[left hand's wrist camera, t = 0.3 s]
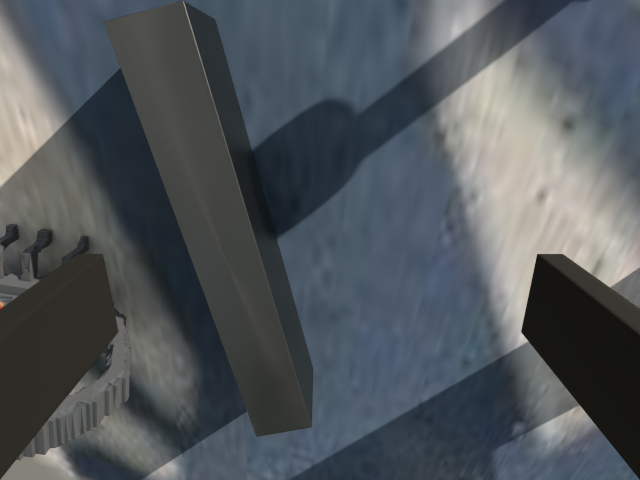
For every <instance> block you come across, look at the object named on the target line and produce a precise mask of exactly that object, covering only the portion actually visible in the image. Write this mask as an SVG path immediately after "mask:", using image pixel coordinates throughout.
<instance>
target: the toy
mask: <svg viewBox="0 0 640 480" xmlns="http://www.w3.org/2000/svg"><path fill="white" fill-rule="evenodd" d="M17 239H18V232H17V225H13V224H10V225H8V226H6V234H5V236H4V237H2V238H0V309H1V308H2V307H4V306H5V305H6V304H8V303H9V302H11V301H12V300H13V299H15V298H16V297H18V296H19V295H21V294H22V293H23V292H25V291H26V290H28V289H29V288H30V287H32V286H33V285H35V284H36V283H37V282H39V281H40V280H42V279H43V278H40V277H37V276H36V275H37V259H38V253H39V252H41V249H43V248H45V247H47V246H48V245H49V244H50V243H51V242H52V239H51V231H49V230H43V229H41V230H40V231H38V234H37V241H36V242H35V243H34V244H33V245H32V246H31V247H29V248H27V249H26V250H25V251H24V252H23V253H22V254H21V265H22V274H21V273H15V272H12V273H11V274H9V275H4V269H3V267H4V249H5V248H6V247H7V246H8V245H9V244H11V243H12V242H14V241H16V240H17ZM87 251H88V237H85V236H82V237H81V239H80V241H79V243H78V246H77V248H76V249H74V250H73V251H72V252H70V253H69V254H68V255H66V256H64V257H63V258H62V265H63V264H64V263H66V262H67V261H68V260H70V259H71V258H73V257H74V256H75V255H77V254H84V253H86V252H87ZM113 307H114V303H113ZM114 312H115V316H116V321H117V326H118V331H119V332H118V334H117V335H116V336H115V337H114V339H113V340H112V341H111V342H110V343H109V345H108V346H107V347H106V348H105V350H104V351H103V352H102V353H106V371H105V372H104V374H103V375H102V376H101V377H100V379H99V380H94V381H93V382H92V383H91V385H89V386H88V387H83V388H82V389H81V390H80V391H79V392H78V393H75V394H74V395H70V396H67V397H66V398H65V399H64V401H63V402H62V403H61V404H60V406H59V407H58V408H57V409H56V411H55V412H54V413H53V414H52V416H51V417H50V418H49V419H48V421H47V422H46V423H45V424H44V426H43V427H42V428H41V429H40V431H39V432H38V433H37V434H36V436H35V437H34V438H33V439H32V441H31V442H30V443H29V444H28V446H27V447H26V448H25V449H24V450H23V452H22V453H21V454H20V455H19V457H18V458H17V459H16V460H21V459H22V457H23V456H25V457H34V455H35V454H42V455H45V454H46V453H47V451H48V450H49V449H50V448H56V447H59V446H61V445H63V444H64V443H67V442H69V441H70V440H71V439H76V438H77V437H78V436H79V435H80V434H83V433H85V432H86V431H89V430H91V429H92V427H98V425H99V424H100V422H101V421H102V419H103V418H104V416H105V415H106V416H109V415H110V414H111V413H112V412H113V411H114V410H115V409H117V408H118V407H119V406H120V404H121V403H122V402H126V401H127V399H128V398H129V377H130V374H131V352H130V343H129V334H127V332H126V327H125V324H126V317H124V315H123V314H119V312H117V310H116V309H114Z"/></svg>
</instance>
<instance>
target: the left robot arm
mask: <svg viewBox="0 0 640 480" xmlns="http://www.w3.org/2000/svg"><path fill="white" fill-rule="evenodd" d="M118 332H119V331H118V326H117V321H116V316H115V312H114V307H113V302H112V297H111V292H110V287H109V283H108V278H107V273H106V268H105V263H104V258H103V254H77V255H75V256H74V257H73V258H71V259H70V260H68V261H67V262H66V263H64V264H63V265H61V266H60V267H59V268H57V269H56V270H54V271H53V272H51V273H50V274H49V275H47V276H46V277H44V278H43V279H42V280H40V281H39V282H37V283H36V284H35V285H33V286H32V287H30V288H29V289H28V290H26V291H25V292H23V293H22V294H21V295H19V296H18V297H16V298H15V299H13V300H12V301H11V302H9V303H8V304H6V305H5V306H4V307H2V308H1V309H0V479H1V478H2V477H3V475H4V474H5V473H6V472H7V470H8V469H9V468H10V467H11V465H12V464H13V463H14V462H15V460H16V459H17V458H18V457H19V455H20V454H21V453H22V452H23V450H24V449H25V448H26V447H27V446H28V444H29V443H30V442H31V441H32V439H33V438H34V437H35V436H36V434H37V433H38V432H39V431H40V429H41V428H42V427H43V426H44V424H45V423H46V422H47V421H48V419H49V418H50V417H51V416H52V414H53V413H54V412H55V411H56V409H57V408H58V407H59V406H60V404H61V403H62V402H63V401H64V399H65V398H66V397H67V396H68V395H69V393H70V392H71V391H72V390H73V388H74V387H75V386H76V385H77V383H78V382H79V381H80V380H81V378H82V377H83V376H84V375H85V373H86V372H87V371H88V370H89V368H90V367H91V366H92V365H93V363H94V362H95V361H96V360H97V358H98V357H99V356H100V355H101V353H102V352H103V351H104V350H105V348H106V347H107V346H108V345H109V343H110V342H111V341H112V340H113V339H114V337H115V336H116V335H117V334H118ZM521 332H522V334H523V335H524V336H525V337H526V339H527V340H528V341H529V342H530V343H531V345H532V346H533V347H534V348H535V350H536V351H537V352H538V353H539V355H540V356H541V357H542V358H543V360H544V361H545V362H546V363H547V365H548V366H549V367H550V368H551V370H552V371H553V372H554V373H555V375H556V376H557V377H558V378H559V380H560V381H561V382H562V383H563V385H564V386H565V387H566V388H567V390H568V391H569V392H570V393H571V395H572V396H573V397H574V398H575V399H576V401H577V402H578V403H579V404H580V406H581V407H582V408H583V409H584V411H585V412H586V413H587V414H588V416H589V417H590V418H591V419H592V421H593V422H594V423H595V424H596V426H597V427H598V428H599V429H600V431H601V432H602V433H603V434H604V436H605V437H606V438H607V439H608V441H609V442H610V443H611V444H612V446H613V447H614V448H615V449H616V450H617V452H618V453H619V454H620V455H621V457H622V458H623V459H624V460H625V462H626V463H627V464H628V465H629V467H630V468H631V469H632V470H633V472H634V473H635V474H636V475H637V477H638V478H639V479H640V309H639V308H638V307H636V306H635V305H634V304H632V303H631V302H629V301H628V300H627V299H625V298H624V297H622V296H621V295H619V294H618V293H617V292H615V291H614V290H612V289H611V288H610V287H608V286H607V285H605V284H604V283H603V282H601V281H600V280H598V279H597V278H596V277H594V276H593V275H591V274H590V273H589V272H587V271H586V270H584V269H583V268H581V267H580V266H579V265H577V264H576V263H574V262H573V261H572V260H570V259H569V258H567V257H566V256H565V255H563V254H537V258H536V263H535V268H534V273H533V278H532V283H531V287H530V292H529V297H528V302H527V307H526V312H525V316H524V321H523V326H522V331H521Z"/></svg>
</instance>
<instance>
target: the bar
mask: <svg viewBox="0 0 640 480" xmlns="http://www.w3.org/2000/svg"><path fill="white" fill-rule="evenodd" d="M104 24H105V27H106V29H107V32H108V35H109V37H110V40H111V43H112V46H113V48H114V51H115V54H116V56H117V59H118V62H119V65H120V67H121V70H122V73H123V75H124V78H125V81H126V84H127V86H128V89H129V92H130V94H131V97H132V100H133V103H134V105H135V108H136V111H137V113H138V116H139V119H140V122H141V124H142V127H143V130H144V132H145V135H146V138H147V141H148V143H149V146H150V149H151V151H152V154H153V157H154V160H155V162H156V165H157V168H158V170H159V173H160V176H161V179H162V181H163V184H164V187H165V189H166V192H167V195H168V198H169V200H170V203H171V206H172V208H173V211H174V214H175V217H176V219H177V222H178V225H179V227H180V230H181V233H182V236H183V238H184V241H185V244H186V246H187V249H188V252H189V255H190V257H191V260H192V263H193V265H194V268H195V271H196V274H197V276H198V279H199V282H200V284H201V287H202V290H203V293H204V295H205V298H206V301H207V303H208V306H209V309H210V312H211V314H212V317H213V320H214V322H215V325H216V328H217V331H218V333H219V336H220V339H221V341H222V344H223V347H224V350H225V352H226V355H227V358H228V360H229V363H230V366H231V369H232V371H233V374H234V377H235V379H236V382H237V385H238V388H239V390H240V393H241V396H242V398H243V401H244V404H245V407H246V409H247V412H248V415H249V417H250V420H251V423H252V426H253V428H254V431H255V434H256V436H257V437H258V436H263V435H269V434H275V433H281V432H287V431H293V430H298V429H304V428H310V427H312V394H313V367H312V363H311V360H310V356H309V353H308V349H307V346H306V342H305V338H304V335H303V331H302V328H301V324H300V321H299V317H298V313H297V310H296V306H295V303H294V299H293V296H292V292H291V289H290V285H289V281H288V278H287V274H286V271H285V267H284V264H283V260H282V256H281V253H280V249H279V246H278V242H277V239H276V235H275V231H274V228H273V224H272V221H271V217H270V214H269V210H268V207H267V203H266V199H265V196H264V192H263V189H262V185H261V182H260V178H259V174H258V171H257V167H256V164H255V160H254V157H253V153H252V150H251V146H250V142H249V139H248V135H247V132H246V128H245V125H244V121H243V117H242V114H241V110H240V107H239V103H238V100H237V96H236V92H235V89H234V85H233V82H232V78H231V75H230V71H229V68H228V64H227V60H226V57H225V53H224V50H223V46H222V43H221V39H220V35H219V32H218V28H217V25H216V21H215V19H214V18H212V17H210V16H208V15H207V14H205V13H203V12H201V11H200V10H198V9H196V8H195V7H193V6H191V5H189V4H188V3H186V2H184V1H181V2H177V3H173V4H169V5H165V6H162V7H158V8H154V9H150V10H146V11H143V12H139V13H135V14H131V15H127V16H124V17H120V18H116V19H112V20H108V21H105V22H104Z"/></svg>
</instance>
